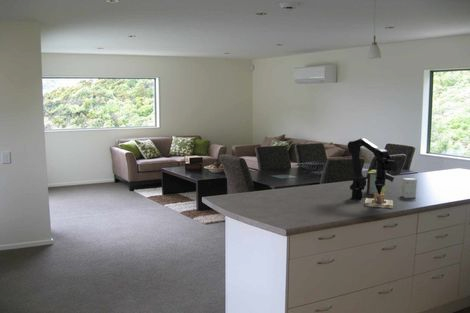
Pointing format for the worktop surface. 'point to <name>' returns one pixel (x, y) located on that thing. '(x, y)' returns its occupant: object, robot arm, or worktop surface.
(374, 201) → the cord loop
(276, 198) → the worktop surface
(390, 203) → the hook shelf
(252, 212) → the worktop surface
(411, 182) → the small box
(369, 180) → the protein box
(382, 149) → the robot arm
